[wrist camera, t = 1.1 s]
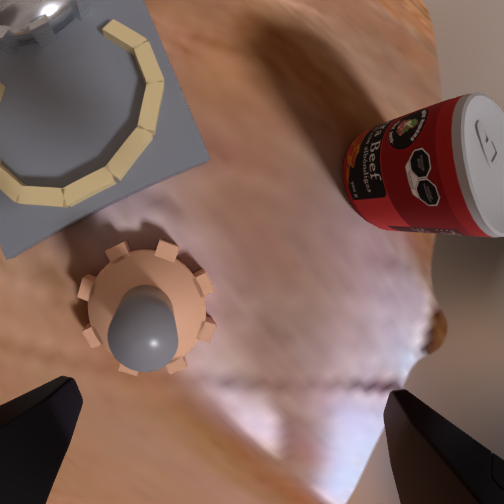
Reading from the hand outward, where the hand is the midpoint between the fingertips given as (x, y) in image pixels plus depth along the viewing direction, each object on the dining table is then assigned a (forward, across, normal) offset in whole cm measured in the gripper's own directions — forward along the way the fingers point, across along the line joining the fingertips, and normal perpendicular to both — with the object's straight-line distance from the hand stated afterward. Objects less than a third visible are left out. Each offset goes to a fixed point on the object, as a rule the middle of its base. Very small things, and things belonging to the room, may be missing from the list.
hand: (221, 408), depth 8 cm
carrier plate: (+12, +12, -14) cm, 22 cm away
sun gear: (+11, +14, -19) cm, 26 cm away
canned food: (+18, -10, -4) cm, 21 cm away
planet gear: (+10, +6, +2) cm, 12 cm away
